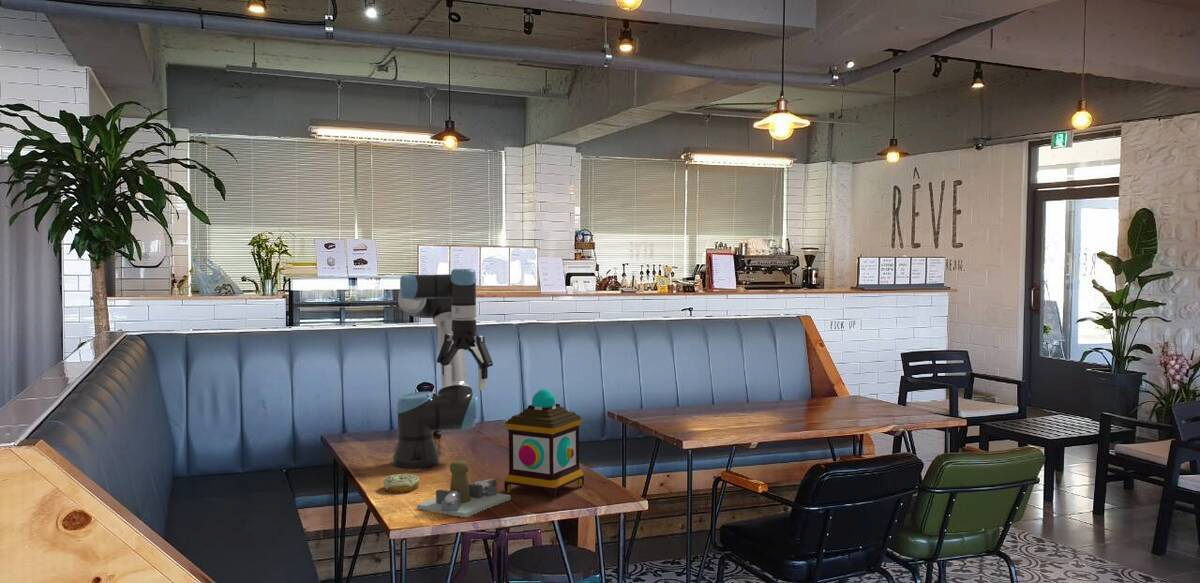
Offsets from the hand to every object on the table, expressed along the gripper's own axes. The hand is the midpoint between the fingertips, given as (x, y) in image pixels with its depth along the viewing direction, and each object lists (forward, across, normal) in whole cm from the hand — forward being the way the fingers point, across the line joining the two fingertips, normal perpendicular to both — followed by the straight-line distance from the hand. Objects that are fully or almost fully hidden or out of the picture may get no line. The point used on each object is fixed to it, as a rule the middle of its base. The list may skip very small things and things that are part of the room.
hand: (464, 387), depth 272 cm
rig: (+28, +17, -21) cm, 39 cm away
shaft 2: (+27, +19, -14) cm, 36 cm away
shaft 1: (+27, +19, -30) cm, 45 cm away
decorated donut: (+29, -10, -18) cm, 35 cm away
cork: (+27, +16, -22) cm, 39 cm away
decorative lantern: (+29, +28, +2) cm, 40 cm away
